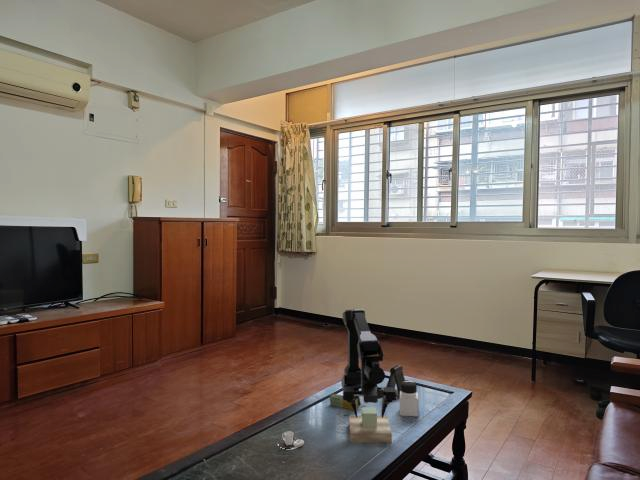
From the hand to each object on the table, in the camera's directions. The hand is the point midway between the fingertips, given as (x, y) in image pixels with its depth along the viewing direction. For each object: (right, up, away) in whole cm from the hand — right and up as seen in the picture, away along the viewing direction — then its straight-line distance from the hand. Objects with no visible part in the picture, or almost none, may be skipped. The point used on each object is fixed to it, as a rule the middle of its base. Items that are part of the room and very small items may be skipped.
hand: (369, 417), depth 151 cm
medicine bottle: (+18, -5, +16) cm, 25 cm away
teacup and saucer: (-28, -7, -10) cm, 30 cm away
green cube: (0, -3, 0) cm, 3 cm away
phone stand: (+16, -5, +37) cm, 40 cm away
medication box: (-8, -6, +23) cm, 25 cm away
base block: (0, -6, 0) cm, 6 cm away
